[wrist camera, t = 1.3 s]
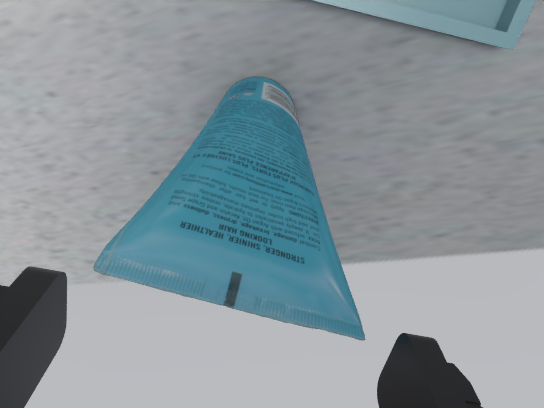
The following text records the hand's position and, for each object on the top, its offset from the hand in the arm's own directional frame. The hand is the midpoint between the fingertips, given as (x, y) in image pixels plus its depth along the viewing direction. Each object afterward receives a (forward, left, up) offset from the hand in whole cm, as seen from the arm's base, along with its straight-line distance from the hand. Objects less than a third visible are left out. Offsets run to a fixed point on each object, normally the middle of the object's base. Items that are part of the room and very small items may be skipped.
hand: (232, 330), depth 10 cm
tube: (0, 0, -20) cm, 20 cm away
